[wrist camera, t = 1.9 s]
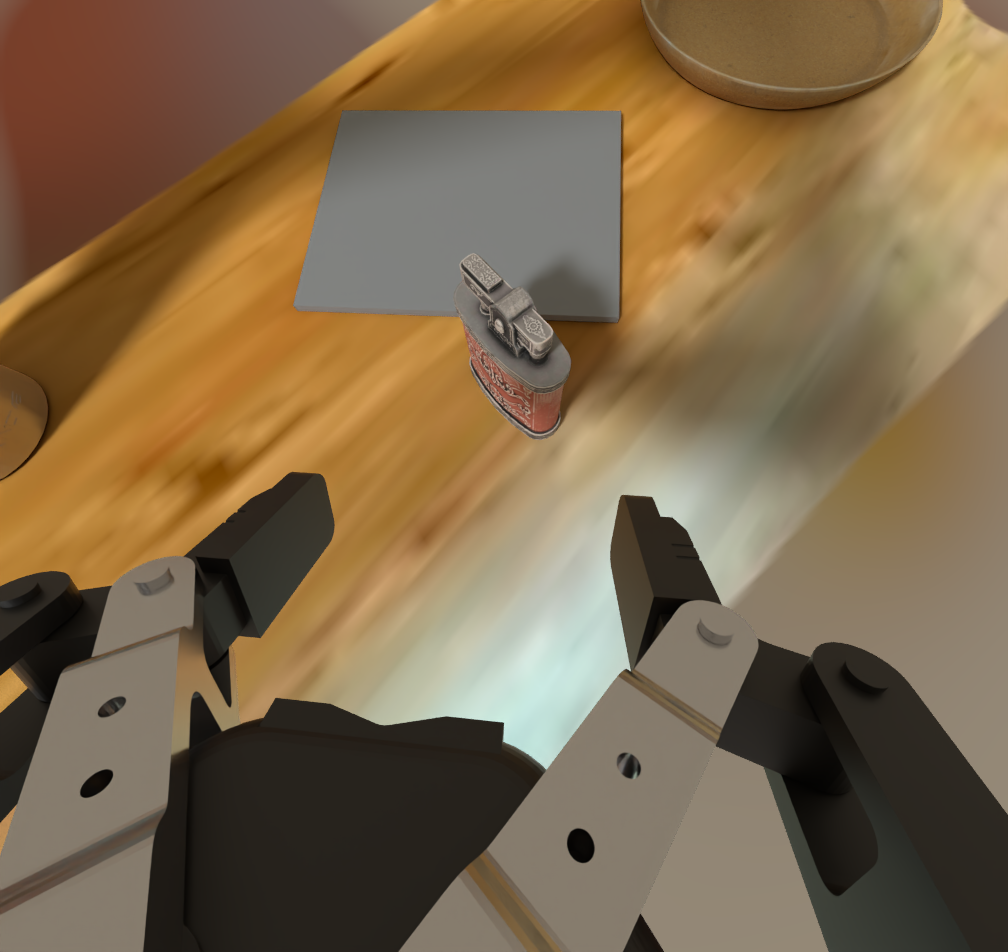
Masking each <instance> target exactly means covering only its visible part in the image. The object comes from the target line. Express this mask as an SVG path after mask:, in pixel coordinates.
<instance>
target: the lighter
mask: <svg viewBox="0 0 1008 952" xmlns="http://www.w3.org/2000/svg"><path fill="white" fill-rule="evenodd" d="M459 265H460V271H461V275H462V280H463V281H461V282H460V283H459V284H458V285H457V287H456V289H455V291H454V295H453V300H454V304H455V307H456V311H457V313H458V315H459V317H460V318H461V320H462V322H463V326H464V330H465V335H466V339H467V343H468V347H469V351H470V356H471V357H470V362H469V364H470V368H471V371H472V374H473V376H474V378H475V380H476V381H477V383H478V385H479V386H480V388H481V390H482V392H483V393H484V394H485V395H486V397H487V398H488V399H489V401H490V402H491V403H492V405H493V406H494V407H495V408H496V409H497V410H498V411H499V412H500V413H501V414H502V415H503V416H504V417H505V418H506V419H507V420H508V421H509V422H510V423H511V424H512V425H514V426H515V427H516V428H518V429H519V430H520V431H522V432H523V433H524V434H526V435H527V436H528V437H530V438H532V439H535V440H542V439H547V438H548V437H550V436H552V435H553V434H554V433H555V432H556V431H557V429H558V427H559V424H560V417H561V413H560V410H559V408H560V403H561V397H562V392H563V386H564V383H565V382H566V381H567V378H568V376H569V373H570V368H571V358H570V356H569V353H568V352H567V350H566V349H565V347H564V346H563V344H562V343H561V341H560V340H559V338H558V337H557V335H556V334H555V332H554V331H553V329H552V328H551V326H550V325H549V324H548V323H547V322H546V321H545V320H544V319H543V318H542V317H541V316H540V315H539V314H538V310H537V308H536V307H535V304H534V301H533V299H532V297H531V296H530V294H529V293H528V292H527V291H526V290H525V289H524V288H523V287H520V286H519V287H517V288H512V287H511V286H510V285H509V284H508V283H507V282H506V281H505V280H504V279H503V278H502V277H501V276H500V275H499V274H498V273H497V272H496V271H495V270H493V269H492V268H491V267H490V266H489V265H488V264H487V263H486V262H485V261H484V260H483V259H482V258H481V257H480V256H479V255H477V254H474V253H473V254H470V255H468V256H467V257H465V258H464V259H463V260H462V261H461V262H460V264H459Z"/></svg>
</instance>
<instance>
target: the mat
mask: <svg viewBox="0 0 1008 952" xmlns="http://www.w3.org/2000/svg"><path fill="white" fill-rule="evenodd" d="M620 170H621V111H342V114H341V118H340V122H339V126H338V130H337V134H336V138H335V142H334V146H333V150H332V154H331V158H330V162H329V166H328V170H327V174H326V178H325V182H324V186H323V190H322V194H321V198H320V202H319V206H318V210H317V214H316V218H315V222H314V225H313V229H312V233H311V237H310V241H309V245H308V249H307V253H306V257H305V261H304V265H303V269H302V273H301V277H300V281H299V285H298V289H297V293H296V297H295V301H294V305H293V306H294V307H295V308H296V309H297V311H319V312H345V313H372V314H399V315H426V316H452V317H459V315H458V313H457V311H456V307H455V304H454V300H453V295H454V291H455V289H456V287H457V285H458V284H459V283H460V282H461V281H463V280H462V275H461V271H460V265H459V264H460V262H461V261H462V260H463V259H464V258H465V257H467V256H468V255H470V254H473V253H474V254H477V255H479V256H480V257H481V258H482V259H483V260H484V261H485V262H486V263H487V264H488V265H489V266H490V267H491V268H492V269H493V270H495V271H496V272H497V273H498V274H499V275H500V276H501V277H502V278H503V279H504V280H505V281H506V282H507V283H508V284H509V285H510V286H511V287H512V288H517V287H519V286H520V287H523V288H524V289H525V290H526V291H527V292H528V293H529V294H530V296H531V297H532V299H533V301H534V304H535V307H536V308H537V310H538V314H539V315H540V316H541V317H542V318H543V319H544V320H560V321H586V322H613V323H617V322H618V319H619V281H620Z"/></svg>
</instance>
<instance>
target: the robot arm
mask: <svg viewBox="0 0 1008 952" xmlns="http://www.w3.org/2000/svg"><path fill="white" fill-rule="evenodd" d="M47 415H48V405H47V399H46V396H45V394H44V392H43V389H42V388H41V386H40V385H39V384H38V383H37V382H36V381H35V380H33V379H32V378H30V377H28V376H27V375H24V374H22V373H20V372H17V371H15V370H13V369H10V368H8V367H6V366H4V365H1V364H0V479H2V478H4V477H6V476H7V475H8V474H10V473H11V472H12V471H14V470H15V469H16V468H18V467H19V466H20V465H21V464H22V463H23V462H24V461H25V460H26V459H27V458H28V457H29V455H30V454H31V452H32V451H33V450H34V448H35V447H36V446H37V444H38V442H39V440H40V438H41V436H42V434H43V432H44V429H45V425H46V422H47ZM333 533H334V518H333V513H332V509H331V504H330V500H329V495H328V491H327V486H326V482H325V479H324V477H323V476H322V475H321V474H315V473H300V472H291V473H289V474H287V475H286V476H285V477H284V478H283V479H282V480H281V481H280V482H278V483H277V484H276V485H275V486H274V487H273V488H272V489H269V490H267V491H265V492H263V493H261V494H259V495H257V496H255V497H253V498H251V499H250V500H249V501H248V502H246V503H245V504H244V505H243V506H242V507H241V508H239V509H238V512H237V513H234V514H232V515H231V516H230V517H229V518H228V519H227V520H226V523H222V524H221V525H220V526H218V527H217V528H216V529H215V530H214V531H213V532H212V533H210V534H209V535H208V536H207V537H206V538H205V539H203V540H202V541H201V542H200V543H199V544H198V545H196V546H195V547H194V548H193V549H192V550H191V551H189V552H188V553H187V554H186V555H185V556H184V557H181V556H172V557H164V558H160V559H156V560H153V561H150V562H147V563H144V564H142V565H140V566H138V567H136V568H134V569H132V570H130V571H129V572H127V573H126V574H124V575H123V576H122V577H120V578H119V579H118V580H117V581H116V582H115V583H114V584H113V586H107V587H100V588H93V589H85V590H78V589H77V587H76V586H75V584H74V583H73V581H72V580H71V578H70V577H69V575H68V574H66V573H63V572H58V571H49V572H42V573H36V574H32V575H29V576H25V577H22V578H19V579H16V580H14V581H11V582H9V583H7V584H4V585H2V586H0V675H2V674H3V673H4V672H5V671H6V670H8V669H9V668H11V669H12V670H13V672H14V673H15V674H16V675H17V676H18V677H19V678H20V679H21V681H22V682H23V683H24V684H25V685H26V686H27V687H28V689H26V690H25V691H24V692H23V693H22V694H21V695H20V696H19V697H18V698H17V699H15V700H14V701H13V702H12V703H11V704H10V705H9V706H8V707H7V708H6V709H4V710H3V711H2V712H1V713H0V822H1V821H2V820H3V819H4V818H5V817H6V816H7V815H8V814H9V812H10V811H11V810H12V809H13V808H14V807H15V806H16V805H17V806H16V810H15V813H14V816H13V819H12V822H11V825H10V828H9V831H8V834H7V837H6V840H5V843H4V846H3V849H2V852H1V855H0V952H664V951H663V949H662V948H661V946H660V944H659V943H658V941H657V939H656V938H655V936H654V935H653V933H652V931H651V930H650V928H649V927H648V925H647V923H646V922H645V920H644V918H643V917H642V915H641V914H640V913H641V910H642V908H643V906H644V904H645V901H646V899H647V897H648V895H649V893H650V890H651V888H652V886H653V884H654V882H655V879H656V877H657V875H658V873H659V870H660V868H661V866H662V864H663V862H664V859H665V857H666V855H667V853H668V850H669V848H670V846H671V844H672V842H673V839H674V837H675V835H676V833H677V830H678V828H679V826H680V824H681V822H682V819H683V817H684V815H685V813H686V810H687V808H688V806H689V804H690V802H691V799H692V797H693V794H694V792H695V790H696V788H697V786H698V784H699V782H700V779H701V777H702V775H703V773H704V770H705V768H706V766H707V764H708V762H709V759H710V757H711V755H712V753H713V750H714V748H715V746H717V747H719V748H722V749H724V750H726V751H728V752H731V753H733V754H735V755H738V756H740V757H742V758H745V759H747V760H749V761H752V762H754V763H756V764H759V765H761V766H763V767H764V769H765V772H766V775H767V778H768V781H769V783H770V786H771V789H772V792H773V795H774V798H775V800H776V803H777V806H778V809H779V812H780V814H781V818H782V820H783V823H784V826H785V829H786V832H787V835H788V837H789V840H790V843H791V846H792V849H793V852H794V854H795V857H796V860H797V863H798V866H799V869H800V871H801V874H802V877H803V880H804V883H805V886H806V888H807V891H808V894H809V897H810V900H811V903H812V905H813V908H814V911H815V914H816V917H817V919H818V923H819V925H820V928H821V931H822V934H823V937H824V940H825V942H826V945H827V948H828V951H829V952H1008V815H1007V813H1006V812H1005V811H1004V809H1003V808H1002V807H1001V805H1000V804H999V803H998V801H997V800H996V799H995V797H994V796H993V795H992V793H991V792H990V791H989V789H988V788H987V787H986V785H985V784H984V783H983V781H982V780H981V779H980V777H979V776H978V775H977V773H976V772H975V771H974V769H973V768H972V767H971V765H970V764H969V763H968V761H967V760H966V759H965V757H964V756H963V755H962V753H961V752H960V751H959V749H958V748H957V746H956V745H955V744H954V742H953V741H952V740H951V739H950V737H949V736H948V735H947V733H946V732H945V731H944V729H943V728H942V727H941V725H940V724H939V722H938V721H937V720H936V718H935V717H934V716H933V714H932V713H931V712H930V711H929V709H928V708H927V706H926V705H925V704H924V703H923V701H922V700H921V698H920V697H919V696H918V695H917V693H916V692H915V690H914V689H913V688H912V686H911V685H910V684H909V683H908V682H907V681H906V679H905V678H904V677H903V676H902V675H901V674H900V673H899V672H898V671H897V670H895V669H894V668H893V667H892V666H890V665H889V664H888V663H886V662H885V661H883V660H882V659H880V658H878V657H877V656H875V655H873V654H871V653H869V652H867V651H865V650H863V649H860V648H858V647H855V646H852V645H848V644H843V643H836V642H831V643H824V644H821V645H819V646H818V647H817V648H816V649H815V650H814V651H813V653H812V655H811V657H808V656H805V655H802V654H799V653H795V652H793V651H790V650H786V649H783V648H781V647H777V646H774V645H772V644H769V643H766V642H764V641H762V640H760V639H758V638H757V636H756V634H755V632H754V630H753V629H752V627H751V626H750V625H749V624H748V622H747V621H746V620H745V619H743V618H742V617H741V616H740V615H739V614H737V613H736V612H734V611H733V610H731V609H729V608H727V607H725V606H723V605H722V604H721V602H720V600H719V597H718V595H717V593H716V591H715V589H714V587H713V585H712V583H711V581H710V579H709V576H708V574H707V572H706V570H705V568H704V566H703V564H702V562H701V561H699V555H698V553H697V551H696V549H695V548H694V547H693V546H694V545H693V543H692V541H691V539H690V537H689V534H688V532H687V530H685V529H684V528H683V527H682V526H681V525H680V524H679V523H678V522H677V521H676V520H674V519H673V518H671V517H660V515H659V512H658V510H657V507H656V505H655V502H654V500H653V498H652V497H646V496H631V495H622V496H621V497H620V500H619V504H618V510H617V515H616V520H615V526H614V531H613V536H612V542H611V551H610V560H611V569H612V574H613V579H614V584H615V590H616V595H617V600H618V605H619V611H620V616H621V621H622V626H623V632H624V637H625V642H626V647H627V653H628V658H629V663H630V668H631V672H630V671H629V670H627V669H625V670H623V671H622V672H621V673H620V674H619V675H618V676H617V678H616V679H615V680H614V681H613V683H612V684H611V685H610V687H609V688H608V689H607V691H606V692H605V693H604V695H603V696H602V697H601V699H600V700H599V701H598V703H597V704H596V705H595V707H594V708H593V709H592V711H591V712H590V713H589V715H588V716H587V717H586V719H585V720H584V721H583V723H582V724H581V725H580V727H579V728H578V729H577V730H576V732H575V733H574V734H573V736H572V737H571V738H570V740H569V741H568V742H567V744H566V745H565V746H564V748H563V749H562V750H561V752H560V753H559V754H558V756H557V757H556V758H555V760H554V761H553V762H552V764H551V765H550V766H549V768H548V769H547V770H546V769H545V768H544V767H543V766H542V765H541V764H540V763H538V762H537V761H536V760H535V759H533V758H532V757H531V756H529V755H528V754H526V753H525V752H523V751H521V750H519V749H518V748H516V747H514V746H512V745H509V744H507V743H505V742H503V734H504V723H502V722H492V721H483V720H474V719H465V718H456V717H439V718H433V719H426V720H420V721H413V722H407V723H400V724H394V725H385V726H384V725H378V724H376V723H373V722H371V721H369V720H366V719H364V718H362V717H359V716H357V715H355V714H352V713H350V712H348V711H345V710H343V709H341V708H338V707H336V706H334V705H332V704H327V703H317V702H308V701H299V700H290V699H281V698H275V700H274V702H273V703H272V705H271V707H270V708H269V710H268V712H267V713H266V715H265V717H264V718H260V719H256V720H252V721H249V722H245V723H242V724H240V718H239V706H238V691H237V676H236V661H235V652H234V649H233V647H232V645H231V644H232V643H233V642H234V640H235V639H236V638H237V637H238V636H246V637H256V638H261V637H262V635H263V634H264V632H265V631H266V630H267V628H268V627H269V626H270V624H271V623H272V621H273V620H274V619H275V617H276V616H277V615H278V613H279V612H280V611H281V609H282V608H283V606H284V605H285V604H286V602H287V601H288V600H289V598H290V597H291V595H292V594H293V593H294V591H295V590H296V589H297V587H298V586H299V584H300V583H301V582H302V580H303V579H304V578H305V576H306V575H307V573H308V572H309V571H310V569H311V568H312V567H313V565H314V564H315V563H316V561H317V560H318V558H319V557H320V556H321V554H322V553H323V552H324V550H325V549H326V547H327V546H328V545H329V543H330V542H331V540H332V537H333Z"/></svg>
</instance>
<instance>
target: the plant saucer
mask: <svg viewBox="0 0 1008 952" xmlns="http://www.w3.org/2000/svg"><path fill="white" fill-rule="evenodd" d="M641 6H642V11H643V15H644V19H645V22H646V25H647V28H648V30H649V33H650V35H651V37H652V39H653V41H654V43H655V45H656V46H657V48H658V50H659V51H660V53H661V54H662V55H663V57H664V58H665V59H666V61H667V62H668V63H669V64H670V65H671V66H672V67H673V68H674V69H675V70H676V71H677V72H678V73H679V74H680V75H681V76H682V77H684V78H685V79H686V80H687V81H689V82H690V83H692V84H693V85H694V86H696V87H698V88H700V89H701V90H703V91H705V92H707V93H709V94H711V95H713V96H716V97H718V98H721V99H723V100H726V101H729V102H733V103H736V104H740V105H745V106H750V107H756V108H764V109H798V108H807V107H813V106H818V105H823V104H827V103H831V102H834V101H838V100H841V99H844V98H847V97H849V96H852V95H854V94H857V93H859V92H861V91H864V90H866V89H868V88H870V87H872V86H874V85H876V84H877V83H879V82H881V81H883V80H884V79H886V78H888V77H889V76H891V75H892V74H894V73H895V72H896V71H898V70H899V69H901V68H902V67H903V66H904V65H906V64H907V63H908V62H909V61H911V60H912V59H913V58H914V57H915V56H916V55H917V54H918V53H919V52H921V51H922V50H923V49H924V47H925V46H926V45H927V44H928V43H929V41H930V40H931V39H932V37H933V35H934V34H935V32H936V30H937V27H938V25H939V22H940V19H941V15H942V7H943V0H641Z"/></svg>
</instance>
